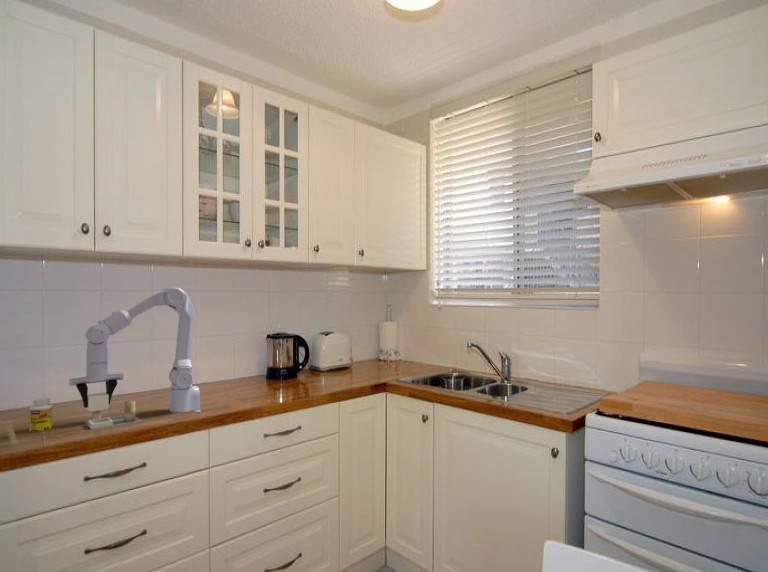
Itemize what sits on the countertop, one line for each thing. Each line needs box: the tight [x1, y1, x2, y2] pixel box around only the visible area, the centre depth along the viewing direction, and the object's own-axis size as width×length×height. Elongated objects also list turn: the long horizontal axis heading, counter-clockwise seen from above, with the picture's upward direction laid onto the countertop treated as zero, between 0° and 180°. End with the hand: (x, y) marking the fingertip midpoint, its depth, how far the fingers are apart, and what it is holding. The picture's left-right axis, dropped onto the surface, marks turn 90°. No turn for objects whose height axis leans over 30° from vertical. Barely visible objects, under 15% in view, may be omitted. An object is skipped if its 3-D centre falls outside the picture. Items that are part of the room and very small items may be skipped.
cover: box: [84, 391, 110, 412], centre depth 145 cm, size 5×5×4 cm
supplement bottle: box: [28, 397, 54, 433], centre depth 137 cm, size 6×6×10 cm
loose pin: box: [123, 400, 136, 422], centre depth 146 cm, size 3×3×6 cm
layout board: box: [83, 410, 143, 431], centre depth 145 cm, size 14×13×4 cm
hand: (96, 405), depth 145 cm, fingers closed on cover, 5 cm apart
